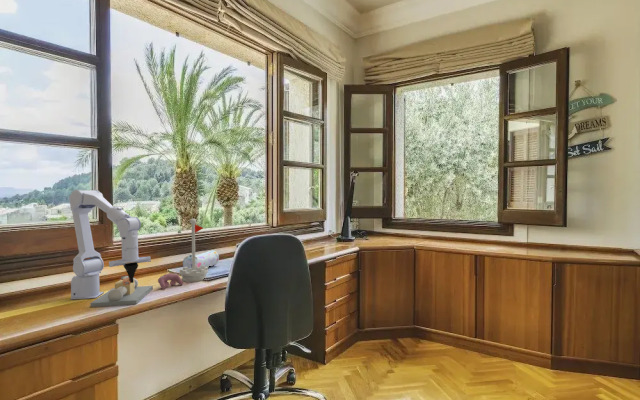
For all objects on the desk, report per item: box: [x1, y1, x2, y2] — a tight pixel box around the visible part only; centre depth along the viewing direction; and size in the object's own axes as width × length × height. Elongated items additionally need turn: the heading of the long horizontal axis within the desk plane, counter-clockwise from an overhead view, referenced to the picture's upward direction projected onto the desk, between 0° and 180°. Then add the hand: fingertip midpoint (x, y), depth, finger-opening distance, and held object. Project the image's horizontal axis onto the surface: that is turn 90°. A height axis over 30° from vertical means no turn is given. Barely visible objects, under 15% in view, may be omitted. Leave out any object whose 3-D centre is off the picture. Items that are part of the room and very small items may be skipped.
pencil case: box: [182, 249, 220, 269], centre depth 200 cm, size 21×9×10 cm, turn 154°
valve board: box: [89, 277, 154, 308], centre depth 145 cm, size 16×22×7 cm
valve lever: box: [120, 275, 130, 285], centre depth 142 cm, size 12×3×2 cm, turn 33°
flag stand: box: [179, 218, 209, 283], centre depth 176 cm, size 13×13×30 cm
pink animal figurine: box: [157, 272, 184, 290], centre depth 162 cm, size 10×5×7 cm, turn 141°
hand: (131, 282), depth 140 cm, fingers closed, pressing on valve lever
